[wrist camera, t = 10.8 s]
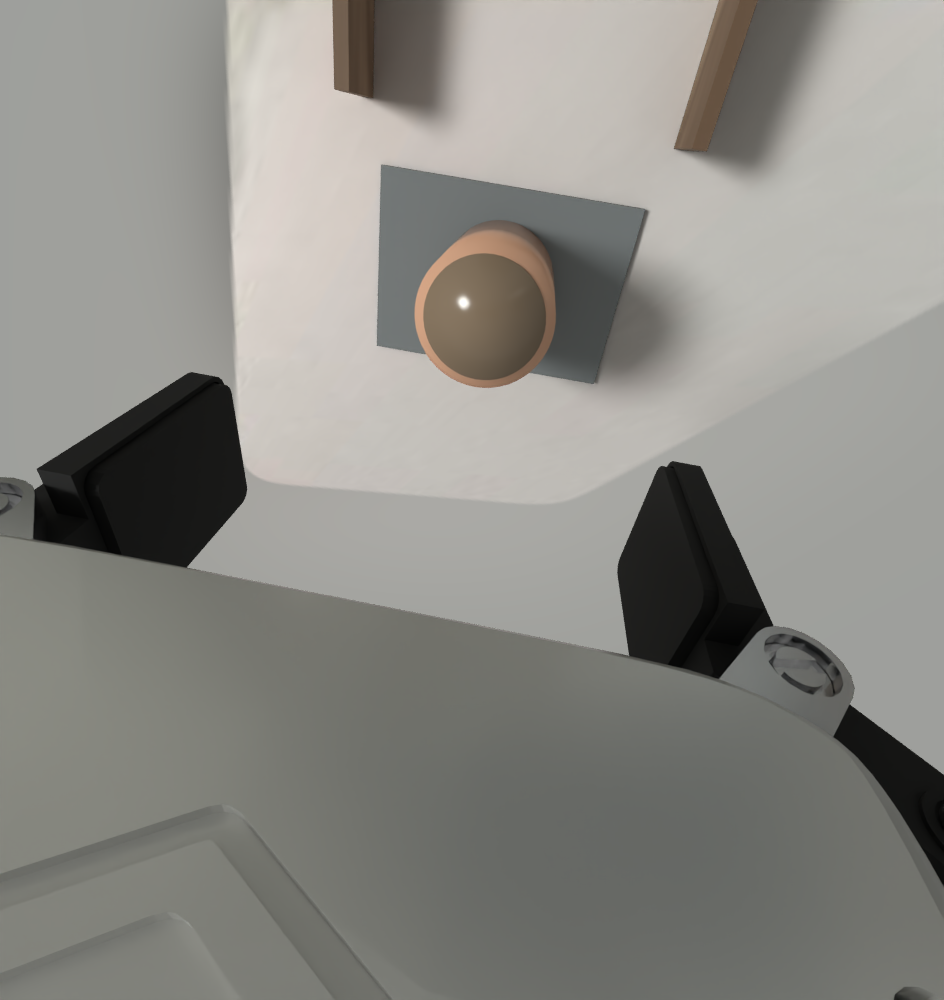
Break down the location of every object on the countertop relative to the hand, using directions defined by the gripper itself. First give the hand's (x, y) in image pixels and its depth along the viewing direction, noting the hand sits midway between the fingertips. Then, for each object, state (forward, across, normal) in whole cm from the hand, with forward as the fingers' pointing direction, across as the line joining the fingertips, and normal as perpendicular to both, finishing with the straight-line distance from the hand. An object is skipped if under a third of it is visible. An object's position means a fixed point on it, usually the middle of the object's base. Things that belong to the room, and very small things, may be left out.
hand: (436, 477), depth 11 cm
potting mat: (+20, 0, 0) cm, 20 cm away
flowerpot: (+19, 0, 0) cm, 19 cm away
